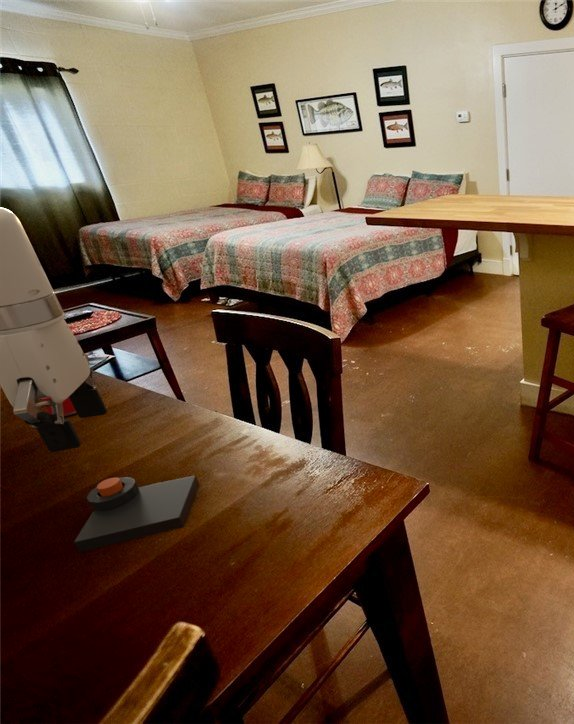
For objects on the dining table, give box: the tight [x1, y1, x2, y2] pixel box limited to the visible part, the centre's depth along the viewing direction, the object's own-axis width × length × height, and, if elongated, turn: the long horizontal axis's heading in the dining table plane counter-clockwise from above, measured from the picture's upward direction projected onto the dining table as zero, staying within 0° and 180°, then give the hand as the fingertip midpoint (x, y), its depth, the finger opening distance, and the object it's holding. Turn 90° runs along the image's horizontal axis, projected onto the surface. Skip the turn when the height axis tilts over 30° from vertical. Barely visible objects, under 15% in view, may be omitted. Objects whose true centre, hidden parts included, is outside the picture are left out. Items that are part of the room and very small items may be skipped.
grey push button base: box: [73, 474, 200, 553], centre depth 70 cm, size 13×11×4 cm
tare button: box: [96, 477, 123, 497], centre depth 70 cm, size 3×3×2 cm
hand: (80, 430), depth 66 cm, fingers open, 8 cm apart
